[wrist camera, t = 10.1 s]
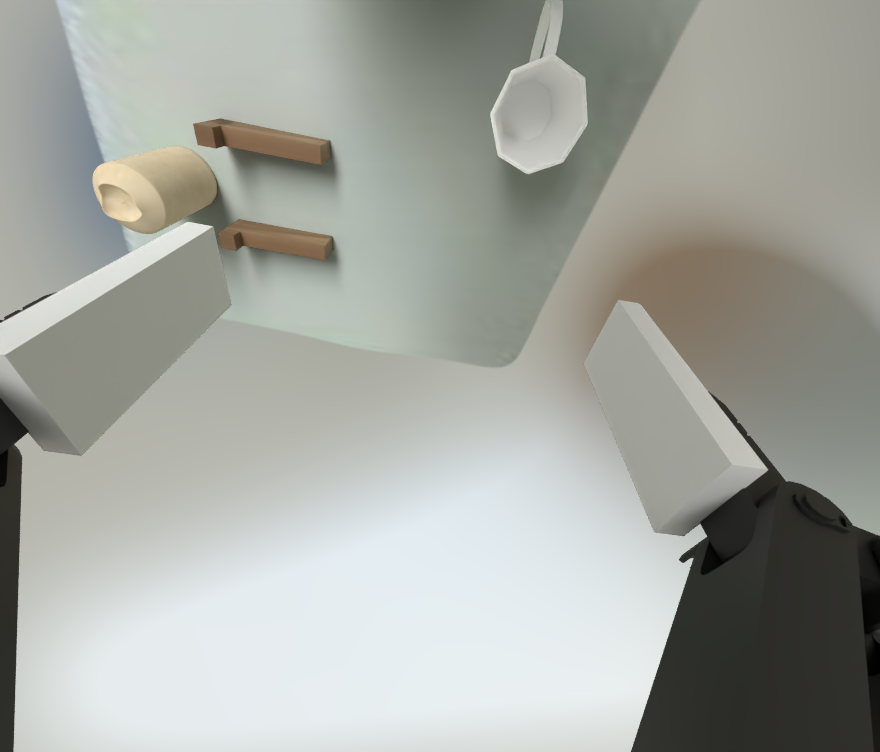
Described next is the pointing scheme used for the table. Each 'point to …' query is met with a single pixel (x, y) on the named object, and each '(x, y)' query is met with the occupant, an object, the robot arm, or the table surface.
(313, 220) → the table surface
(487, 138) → the table surface
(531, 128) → the cup
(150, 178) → the candle
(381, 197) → the table surface
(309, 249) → the wooden stepped bars
